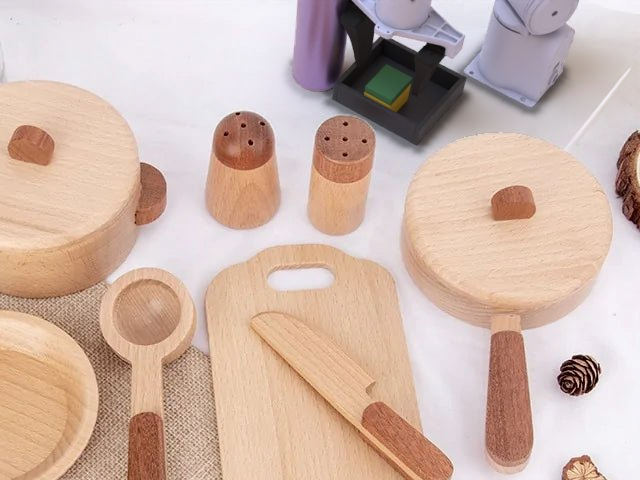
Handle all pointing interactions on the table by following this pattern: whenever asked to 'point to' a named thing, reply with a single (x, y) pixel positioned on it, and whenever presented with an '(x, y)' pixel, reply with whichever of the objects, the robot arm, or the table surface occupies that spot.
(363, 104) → the tray
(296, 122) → the table surface
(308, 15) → the beverage can
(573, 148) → the table surface
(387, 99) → the sponge
